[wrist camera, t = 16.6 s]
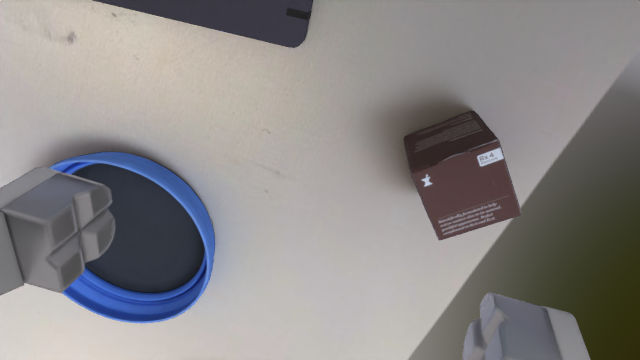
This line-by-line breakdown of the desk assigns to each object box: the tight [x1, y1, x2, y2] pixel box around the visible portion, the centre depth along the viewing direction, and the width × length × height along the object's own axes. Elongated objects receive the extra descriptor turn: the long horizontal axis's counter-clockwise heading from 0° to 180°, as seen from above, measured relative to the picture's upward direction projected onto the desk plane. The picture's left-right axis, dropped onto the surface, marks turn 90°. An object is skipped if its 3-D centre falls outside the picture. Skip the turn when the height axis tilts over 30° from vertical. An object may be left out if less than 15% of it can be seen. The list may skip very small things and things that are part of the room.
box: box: [404, 111, 521, 240], centre depth 32 cm, size 6×6×7 cm
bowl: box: [49, 152, 215, 323], centre depth 41 cm, size 18×18×4 cm
